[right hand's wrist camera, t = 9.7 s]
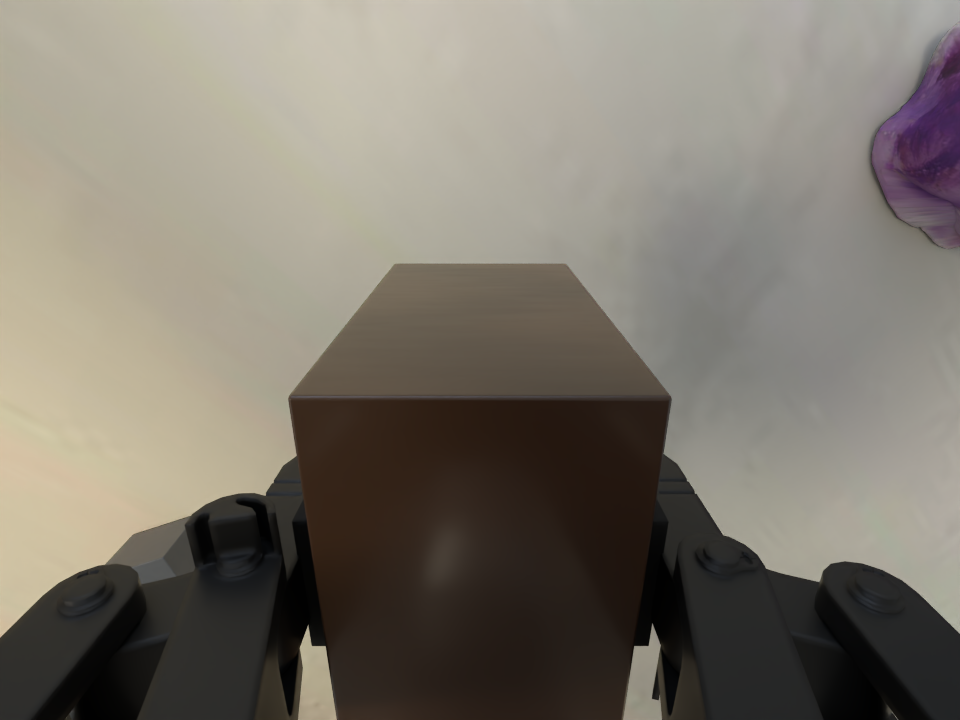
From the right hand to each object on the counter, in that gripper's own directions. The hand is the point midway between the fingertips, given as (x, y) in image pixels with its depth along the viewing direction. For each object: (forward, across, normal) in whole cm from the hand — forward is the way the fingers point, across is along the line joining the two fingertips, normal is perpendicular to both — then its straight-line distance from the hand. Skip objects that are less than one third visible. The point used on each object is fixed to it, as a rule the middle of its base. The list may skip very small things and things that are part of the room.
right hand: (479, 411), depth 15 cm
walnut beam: (0, 0, -9) cm, 9 cm away
